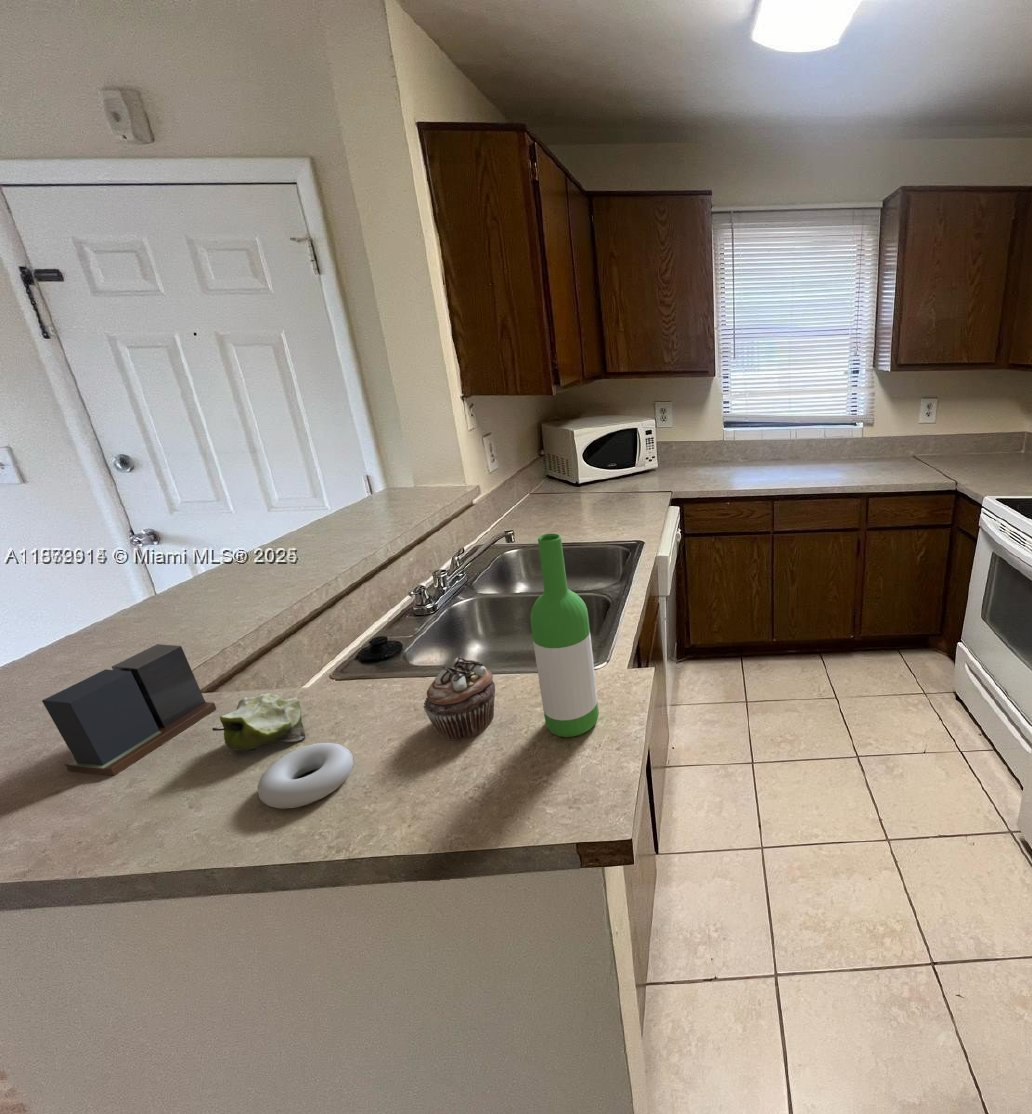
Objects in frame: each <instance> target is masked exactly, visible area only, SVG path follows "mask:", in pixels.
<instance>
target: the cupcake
mask: <svg viewBox="0 0 1032 1114" xmlns="http://www.w3.org/2000/svg"><path fill="white" fill-rule="evenodd" d="M493 679H494V677H493V673H492V672H491V671H490V670H489V669H488V668H486V667H485V666H484V664H483V663H482V662H481V661H477V660H471V659H469V660H468V659H464V657H462V656H458V657H456V658H455V659H454V660H453V666H451V667H450V666H442V670H441V671H440V673H438V675H436V676H435V678H434V680H433V682H431V684H430V685H429V687H428V689H427V691H426V697H425V699H424V702H423V711H424V712H425V714H426V715H427V717H428V720H429V721H430V722H431V724H432V726H433V728H434V730H435V732H436V734H437V735H438V736H439V737H440V738H441V739H443V740H447V741H461V740H467V739H470V738H471V737H474V736H477V735H478V734H480V733H483V732H484V730H485V729H486V728H487V727H488V726H490V725H491V723H492V721H493V719H494V714H495V698H496V684H495V681H493Z"/></svg>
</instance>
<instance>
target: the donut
mask: <svg viewBox="0 0 1032 1114" xmlns="http://www.w3.org/2000/svg"><path fill="white" fill-rule="evenodd" d="M353 765H354V758H353V755H352V752H351V751H350V749H348V748H347V747H345V746H344V745H342V744H339V743H334V742H317V743H313V744H309V745H305V746H302V747H300V748H297V749H294V750H292V751H290V752H288V753H286V754H285V755H283V756H281V757H279V758H278V759H277V760H276V761H275V762H273V763H271V764H270V766H269V767H268V768H267V769H266V770H265V771H264V772H263V773H262V774H261V776H260V779H259V782H258V783H257V793H258V798H259V799H260V801H261V802H263V803H264V804H266V806H269V807H271V808H276V809H280V810H282V809H296V808H300V807H303V806H307V805H310V804H313V803H314V802H317V801H319V800H322V799H324V798H326V797H327V796H329V795H330V794H331V793H333V792H335V791H336V790H337V789H338V788H339V787H340V786H341V785H343V784H344V782H346V780H347V779H348V777H349V776H350V774H351V773H352V770H353ZM311 771H313V772H312V773H311V774H308V775H305V776H303V777H301V776H302V775H304V774H306V773H309V772H311ZM299 777H300V778H299Z"/></svg>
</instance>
